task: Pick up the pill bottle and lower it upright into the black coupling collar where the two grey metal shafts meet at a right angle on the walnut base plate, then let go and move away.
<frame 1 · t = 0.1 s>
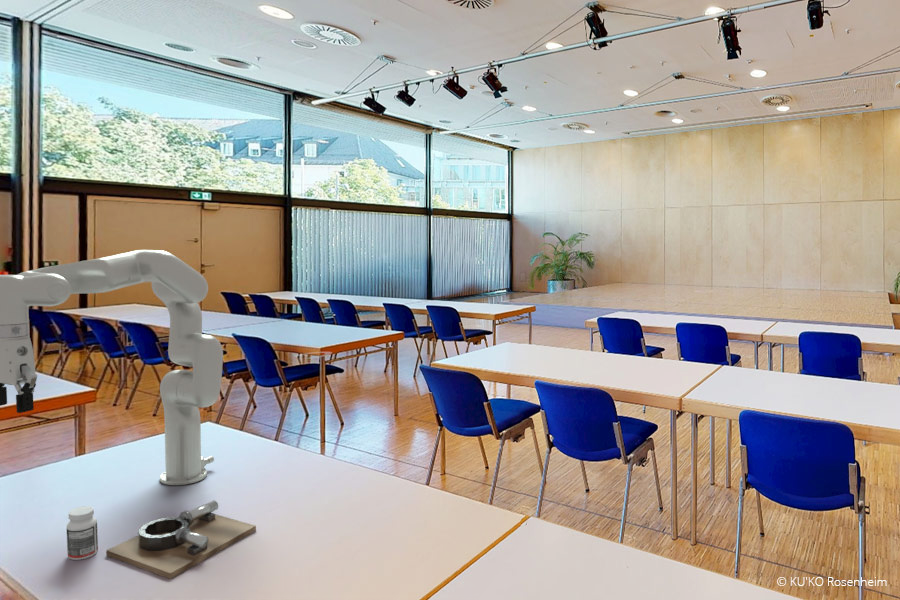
hand: (11, 408, 134), 31 cm above the table, tool pointing down, fingers open, 9 cm apart
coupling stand: (184, 542, 139), on the table
pill bottle: (83, 555, 133), on the table
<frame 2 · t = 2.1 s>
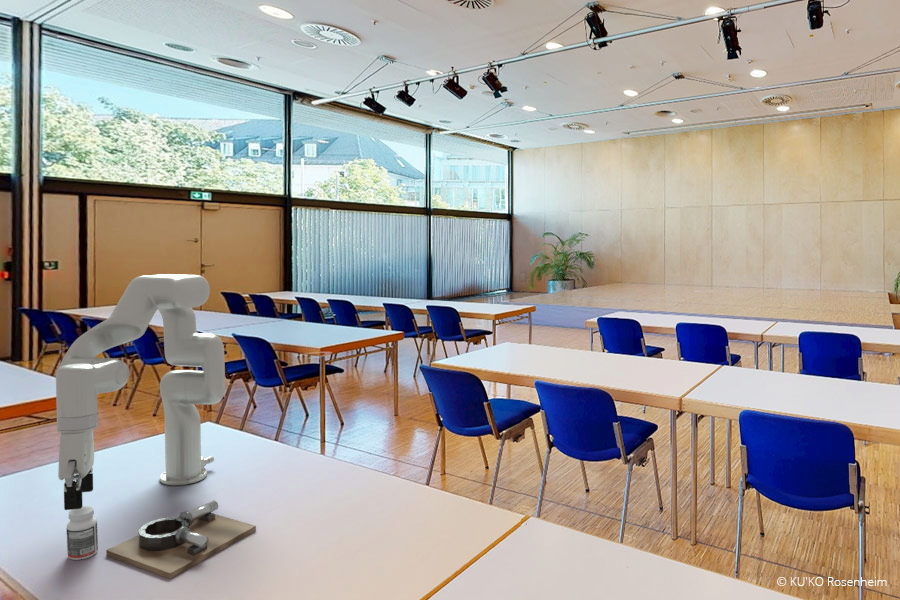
hand: (79, 499, 131), 12 cm above the table, tool pointing down, fingers open, 9 cm apart
nothing on the table moved.
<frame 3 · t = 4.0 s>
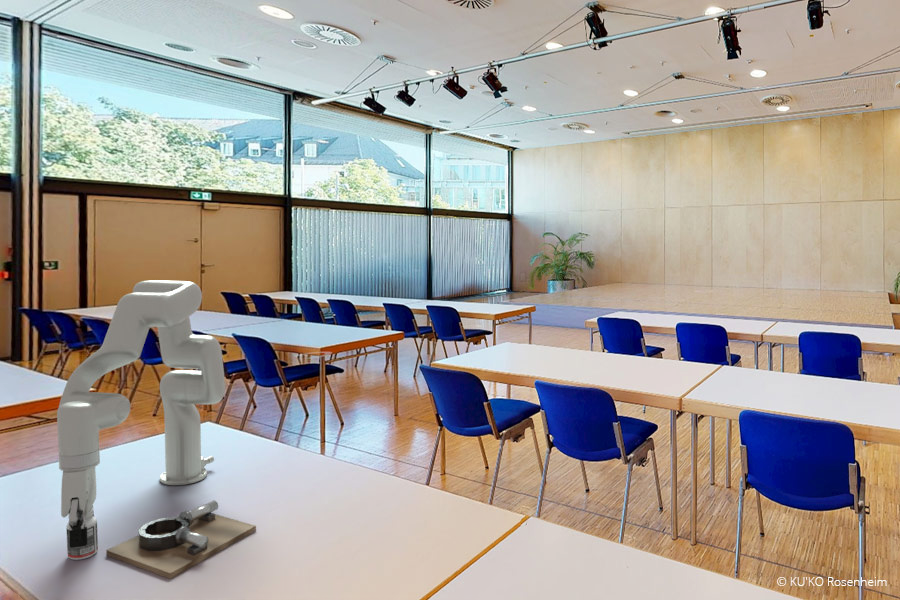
hand: (82, 538, 133), 4 cm above the table, tool pointing down, fingers closed on pill bottle, 5 cm apart
pill bottle: (83, 555, 133), on the table, touching gripper
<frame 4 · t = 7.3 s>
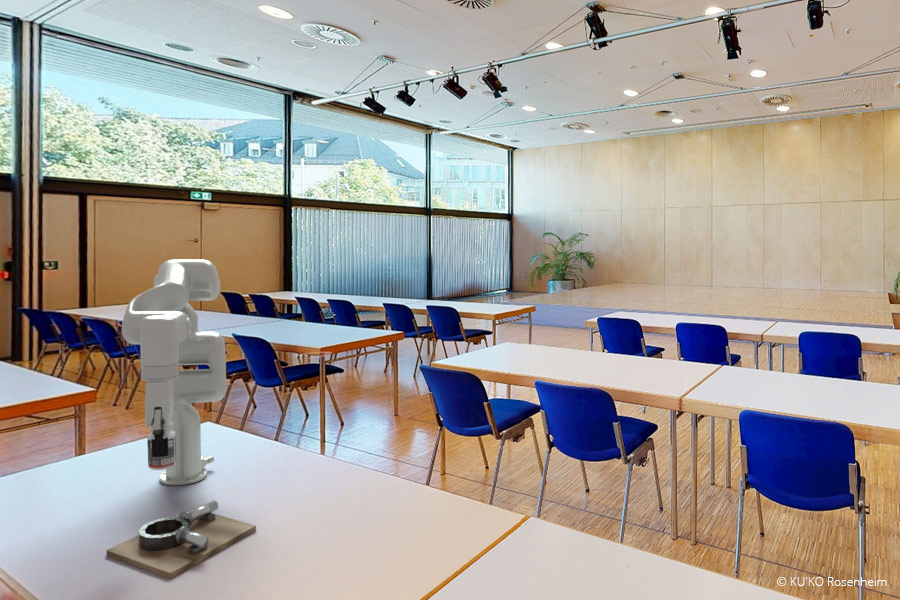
hand: (162, 450, 136), 22 cm above the table, tool pointing down, fingers closed on pill bottle, 5 cm apart
pill bottle: (162, 467, 136), point 18 cm above the table, touching gripper
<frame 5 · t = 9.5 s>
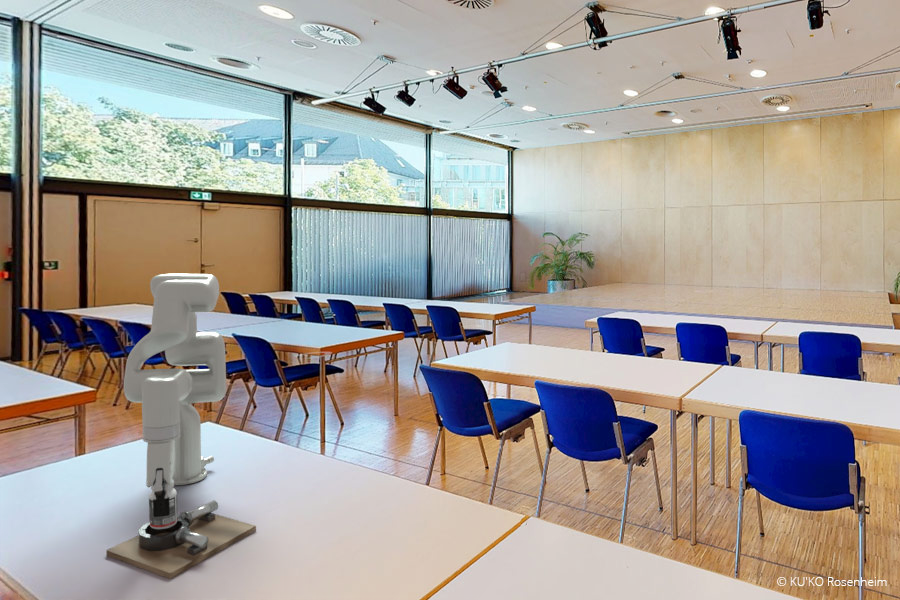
hand: (163, 509, 137), 8 cm above the table, tool pointing down, fingers closed on pill bottle, 5 cm apart
pill bottle: (163, 525, 137), point 5 cm above the table, touching gripper
when the fingers open (6 cm above the table, at t = 11.0 s): pill bottle stays where it is, resting on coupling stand.
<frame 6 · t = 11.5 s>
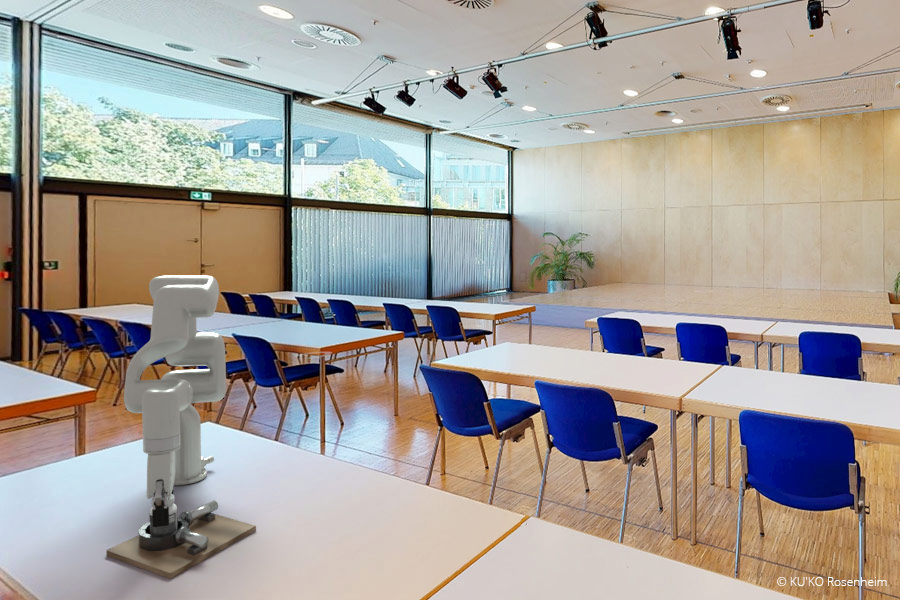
hand: (163, 516, 137), 7 cm above the table, tool pointing down, fingers open, 9 cm apart
pill bottle: (164, 540, 138), point 1 cm above the table, touching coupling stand
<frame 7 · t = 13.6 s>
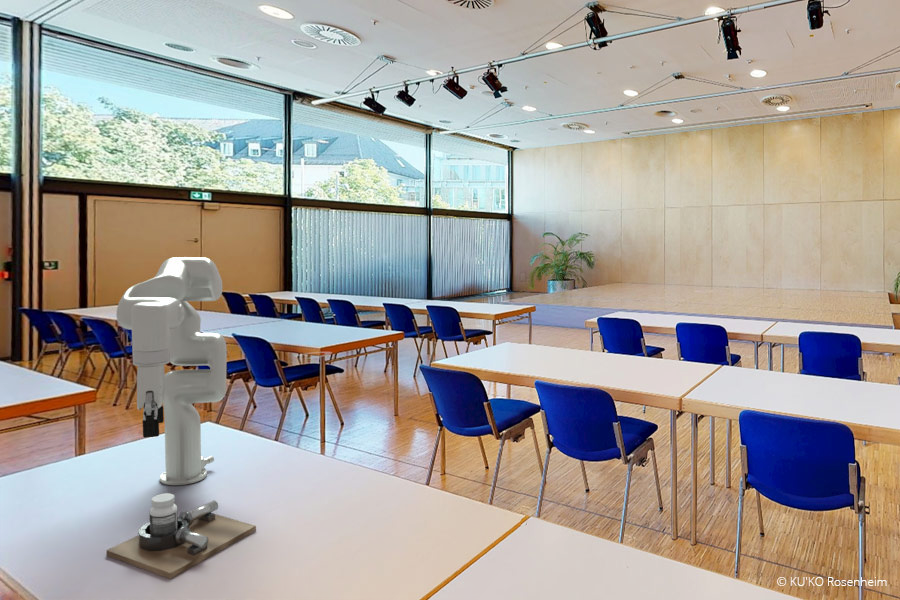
hand: (153, 429, 140), 25 cm above the table, tool pointing down, fingers open, 9 cm apart
nothing on the table moved.
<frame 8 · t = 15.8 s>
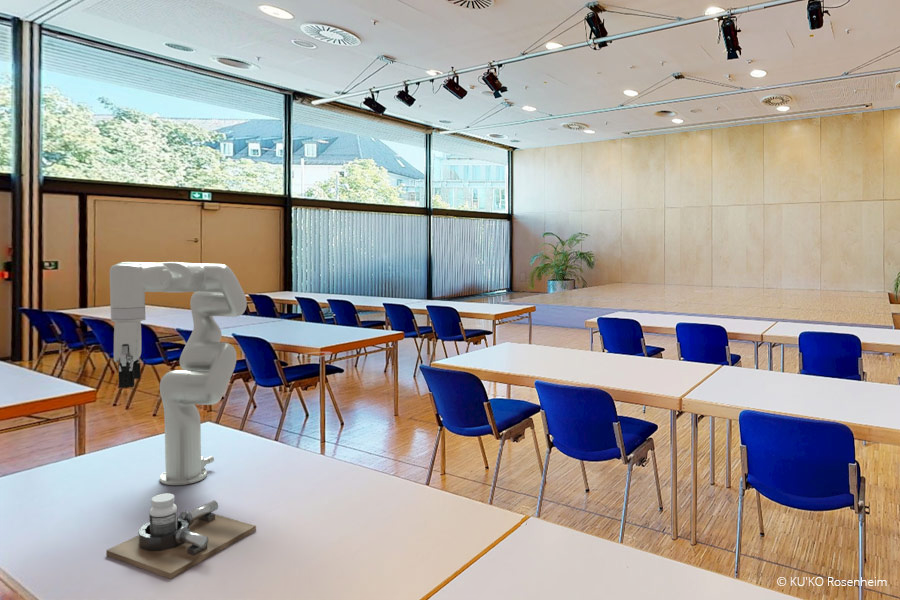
hand: (130, 382, 151), 33 cm above the table, tool pointing down, fingers open, 9 cm apart
nothing on the table moved.
at the end: pill bottle 0.1 cm from the target spot on the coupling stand, point 1.0 cm above the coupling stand's base; pill bottle tilted 0°; the gripper is holding nothing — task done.
